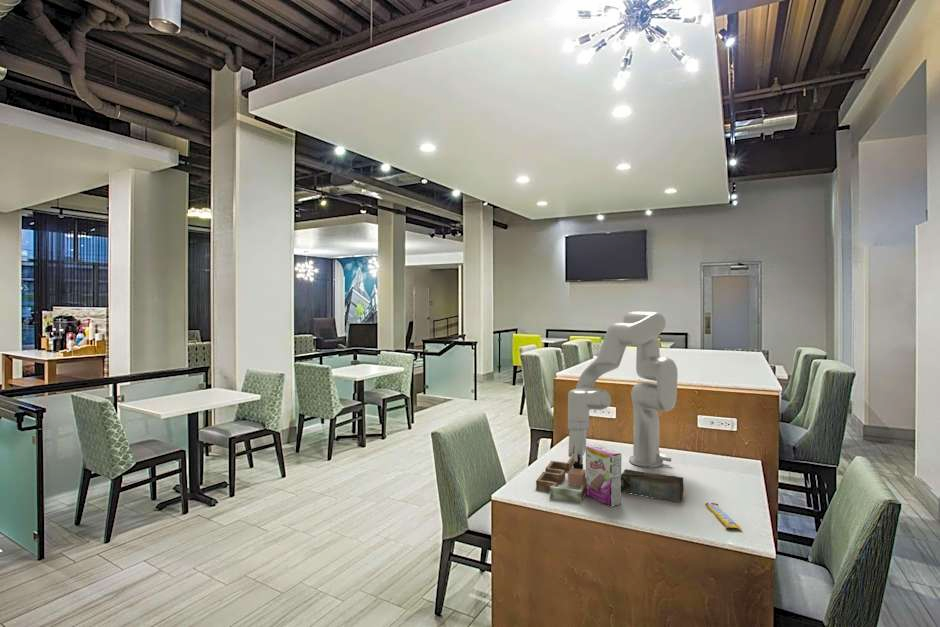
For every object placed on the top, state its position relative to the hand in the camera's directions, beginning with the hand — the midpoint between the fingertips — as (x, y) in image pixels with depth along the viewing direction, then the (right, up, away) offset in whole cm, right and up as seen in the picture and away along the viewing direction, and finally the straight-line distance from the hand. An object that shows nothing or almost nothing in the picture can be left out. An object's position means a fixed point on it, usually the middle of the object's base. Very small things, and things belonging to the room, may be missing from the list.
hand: (578, 474), depth 180 cm
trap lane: (-4, -1, -2) cm, 5 cm away
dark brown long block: (+21, -2, -15) cm, 26 cm away
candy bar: (+35, -3, -34) cm, 49 cm away
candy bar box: (+3, -2, -21) cm, 21 cm away
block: (-1, -1, -5) cm, 5 cm away
